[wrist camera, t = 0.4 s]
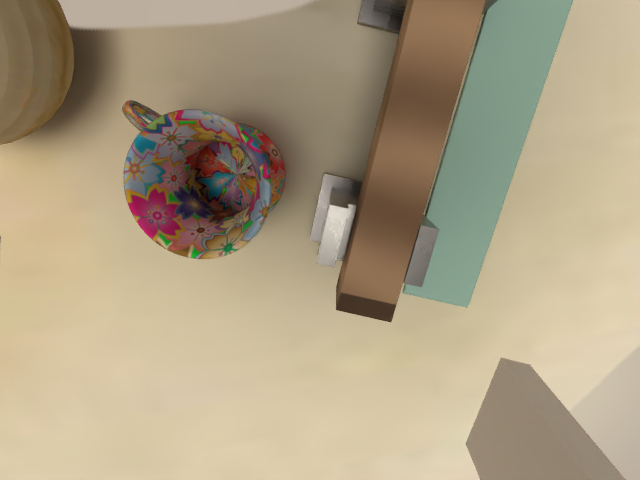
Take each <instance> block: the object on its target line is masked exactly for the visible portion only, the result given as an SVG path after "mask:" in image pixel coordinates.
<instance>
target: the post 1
mask: <svg viewBox="0 0 640 480" xmlns="http://www.w3.org/2000/svg"><path fill="white" fill-rule="evenodd" d="M497 1H498V0H485V4H484V7H483V10H482V14H483V13H484V12H485V11H487V10H488V9H489V8H490V7H491V6H492V5H493V4H494V3H496V2H497ZM406 4H407V0H363V1H362V6H361V10H360V15H359V19H358V24H360V25H365V26H369V27H373V28H378V29H382V30H386V31H391V32H395V33H399V32H400V28H401V24H402V20H403V16H404V12H405V8H406ZM482 14H481V15H482Z"/></svg>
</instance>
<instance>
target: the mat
mask: <svg viewBox="0 0 640 480" xmlns="http://www.w3.org/2000/svg"><path fill="white" fill-rule="evenodd" d="M572 2H573V0H498V1H497V2H496V3H494V4H493V5H492V6H491V7H490V8H489V9H488V10H487V11H485V15H484V18H483V22H482V25H481V28H480V32H479V35H478V39H477V42H476V45H475V49H474V52H473V56H472V59H471V62H470V66H469V69H468V73H467V76H466V79H465V83H464V86H463V89H462V93H461V96H460V100H459V103H458V106H457V110H456V113H455V117H454V120H453V123H452V127H451V130H450V134H449V137H448V140H447V144H446V147H445V151H444V154H443V157H442V161H441V164H440V168H439V171H438V174H437V178H436V181H435V184H434V188H433V191H432V195H431V198H430V201H429V205H428V208H427V212H426V215H425V217H426V218H428V219H429V220H430V221H431V222H432V223H433V224H434V225H435V226H436V227H437V228H438V229H440V230H439V233H438V237H437V240H436V243H435V246H434V250H433V253H432V256H431V259H430V263H429V266H428V269H427V272H426V276H425V279H424V282H423V286H422V287H417V286H413V285H409V284H405V286H404V290H403V292H404V293H405V294H409V295H414V296H418V297H422V298H427V299H431V300H436V301H440V302H445V303H449V304H453V305H458V306H462V307H467V308H468V305H469V302H470V299H471V296H472V293H473V290H474V287H475V284H476V281H477V279H478V276H479V273H480V270H481V267H482V264H483V261H484V258H485V255H486V252H487V249H488V247H489V244H490V241H491V238H492V235H493V232H494V229H495V226H496V223H497V220H498V217H499V214H500V212H501V209H502V206H503V203H504V200H505V197H506V194H507V191H508V188H509V185H510V182H511V180H512V177H513V174H514V171H515V168H516V165H517V162H518V159H519V156H520V153H521V150H522V148H523V145H524V142H525V139H526V136H527V133H528V130H529V127H530V124H531V121H532V118H533V116H534V113H535V110H536V107H537V104H538V101H539V98H540V95H541V92H542V89H543V86H544V84H545V81H546V78H547V75H548V72H549V69H550V66H551V63H552V60H553V57H554V54H555V52H556V49H557V46H558V43H559V40H560V37H561V34H562V31H563V28H564V25H565V22H566V20H567V17H568V14H569V11H570V8H571V5H572Z"/></svg>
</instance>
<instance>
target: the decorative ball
mask: <svg viewBox="0 0 640 480" xmlns="http://www.w3.org/2000/svg"><path fill="white" fill-rule="evenodd" d="M73 70H74V46H73V42H72V37H71V33H70V28H69V25H68V22H67V20H66V17H65V15H64V13H63V10H62V8H61V5H60V3H59V2H58V0H0V145H1V144H6V143H10V142H13V141H15V140H17V139H20V138H22V137H24V136H26V135H28V134H30V133H32V132H33V131H35V130H37V129H38V128H39V127H41V126H42V125H43V124H44V123H46V122H47V121H48V120H50V119H51V118H52V116H53V115H54V114H55V112H56V111H57V110H58V109H59V107H60V106H61V105H62V103H63V101H64V99H65V96H66V94H67V92H68V90H69V87H70V85H71V81H72V76H73Z"/></svg>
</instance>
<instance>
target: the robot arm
mask: <svg viewBox="0 0 640 480" xmlns="http://www.w3.org/2000/svg"><path fill="white" fill-rule="evenodd" d="M0 241H1V236H0ZM466 446H467V448H468V450H469V453H470V455H471V458H472V460H473V463H474V465H475V467H476V470H477V472H478V475H479V477H480V480H625V478H624V477H623V476H622V475H621V474H620V472H619V471H618V470H617V469H616V468H615V466H614V465H613V464H612V463H611V462H610V461H609V459H608V458H607V457H606V456H605V454H604V453H603V452H602V451H601V450H600V448H599V447H598V446H597V445H596V444H595V442H593V440H592V439H591V438H590V436H589V435H588V434H587V433H586V432H585V430H584V429H583V428H582V427H581V426H580V425H579V423H578V422H577V421H576V420H575V418H574V417H573V416H572V415H571V414H570V412H569V411H568V410H567V409H566V408H565V406H564V405H563V404H562V403H561V402H560V400H559V399H558V398H557V397H556V396H555V394H554V393H553V392H552V391H551V390H550V388H549V387H548V386H547V385H546V384H545V382H544V381H543V380H542V379H541V378H540V376H539V375H538V374H537V373H536V372H535V370H534V369H533V368H532V367H531V366H530V365H529V364H525V363H521V362H517V361H512V360H508V359H504V358H501V359H500V361H499V364H498V366H497V369H496V371H495V374H494V376H493V379H492V381H491V383H490V386H489V388H488V391H487V393H486V396H485V398H484V400H483V403H482V405H481V408H480V410H479V413H478V415H477V417H476V420H475V422H474V425H473V427H472V430H471V432H470V435H469V437H468V439H467V442H466Z"/></svg>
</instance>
